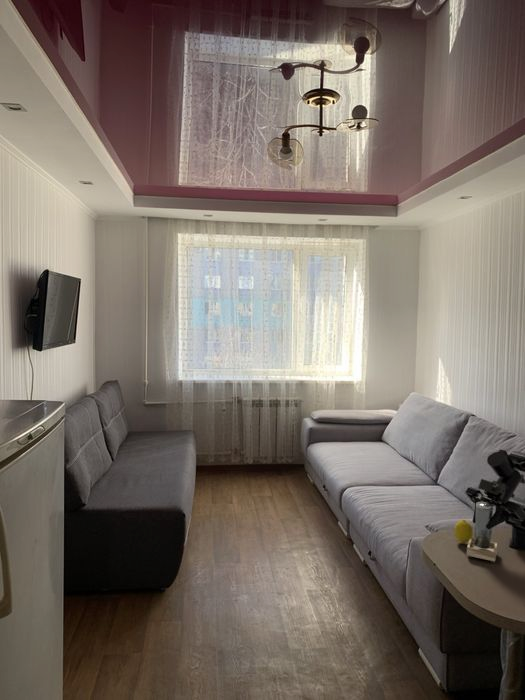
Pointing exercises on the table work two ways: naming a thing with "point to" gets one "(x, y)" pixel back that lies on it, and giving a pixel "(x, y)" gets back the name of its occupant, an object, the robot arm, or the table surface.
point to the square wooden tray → (481, 551)
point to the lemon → (463, 531)
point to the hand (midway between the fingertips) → (480, 525)
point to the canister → (483, 525)
